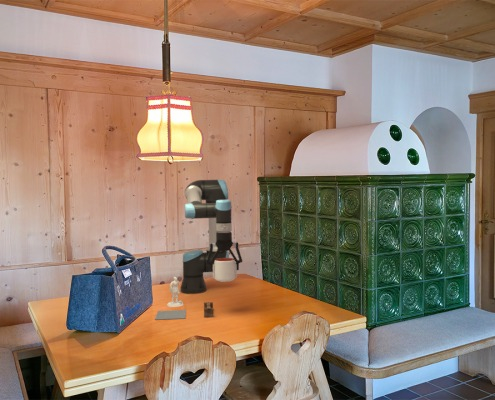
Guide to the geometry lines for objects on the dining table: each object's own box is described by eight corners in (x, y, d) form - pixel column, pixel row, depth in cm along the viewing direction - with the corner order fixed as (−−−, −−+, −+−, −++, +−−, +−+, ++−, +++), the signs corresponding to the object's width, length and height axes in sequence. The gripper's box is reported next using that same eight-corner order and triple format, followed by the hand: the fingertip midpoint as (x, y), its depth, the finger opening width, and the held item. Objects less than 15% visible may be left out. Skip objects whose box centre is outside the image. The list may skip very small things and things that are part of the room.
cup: (210, 280, 232) (209, 259, 231) (224, 276, 239) (224, 257, 239) (225, 283, 225) (224, 262, 225) (239, 279, 233) (239, 259, 232)
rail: (204, 310, 237) (203, 302, 237) (212, 310, 238) (212, 302, 238) (204, 317, 225) (204, 309, 225) (213, 317, 226) (213, 308, 226)
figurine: (169, 307, 244) (168, 278, 243) (164, 303, 252) (164, 275, 251) (185, 305, 247) (185, 276, 247) (181, 301, 255) (180, 273, 255)
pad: (157, 311, 236) (157, 311, 236) (186, 310, 238) (186, 309, 238) (155, 320, 222) (154, 319, 222) (185, 318, 224) (185, 318, 224)
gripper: (200, 233, 226) (201, 280, 227) (248, 232, 229) (248, 278, 230) (200, 231, 233) (201, 276, 235) (246, 230, 236) (246, 274, 238)
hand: (224, 277), depth 232 cm, fingers closed on cup, 10 cm apart
